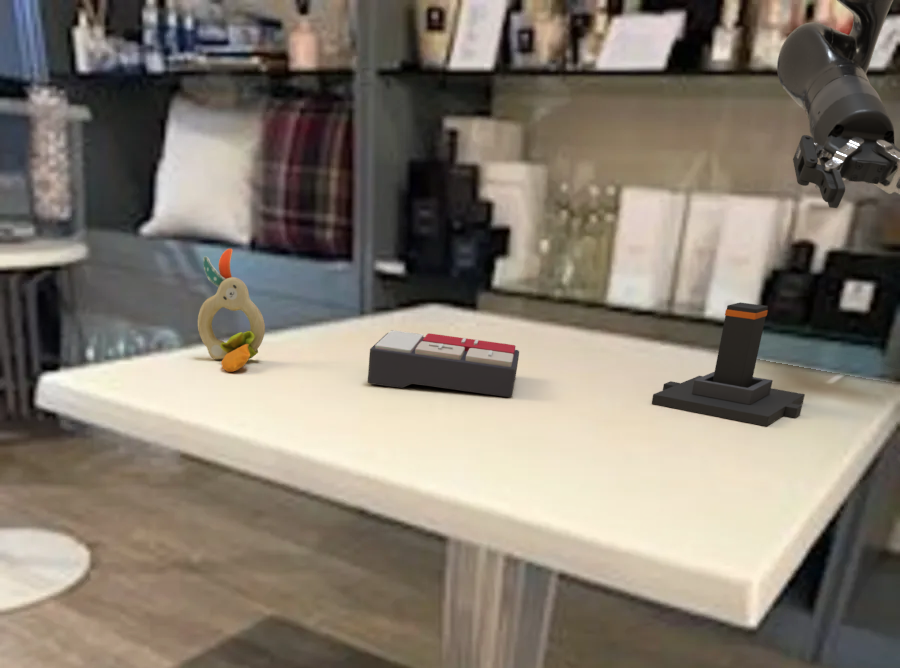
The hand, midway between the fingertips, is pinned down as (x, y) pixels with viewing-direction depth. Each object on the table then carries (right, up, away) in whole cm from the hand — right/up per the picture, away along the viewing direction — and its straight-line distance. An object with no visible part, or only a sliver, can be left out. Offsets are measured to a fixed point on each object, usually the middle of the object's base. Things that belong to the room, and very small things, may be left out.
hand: (880, 204), depth 88 cm
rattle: (-68, -14, +8) cm, 70 cm away
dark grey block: (-13, -18, +5) cm, 23 cm away
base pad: (-13, -19, +6) cm, 24 cm away
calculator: (-44, -16, +7) cm, 47 cm away
